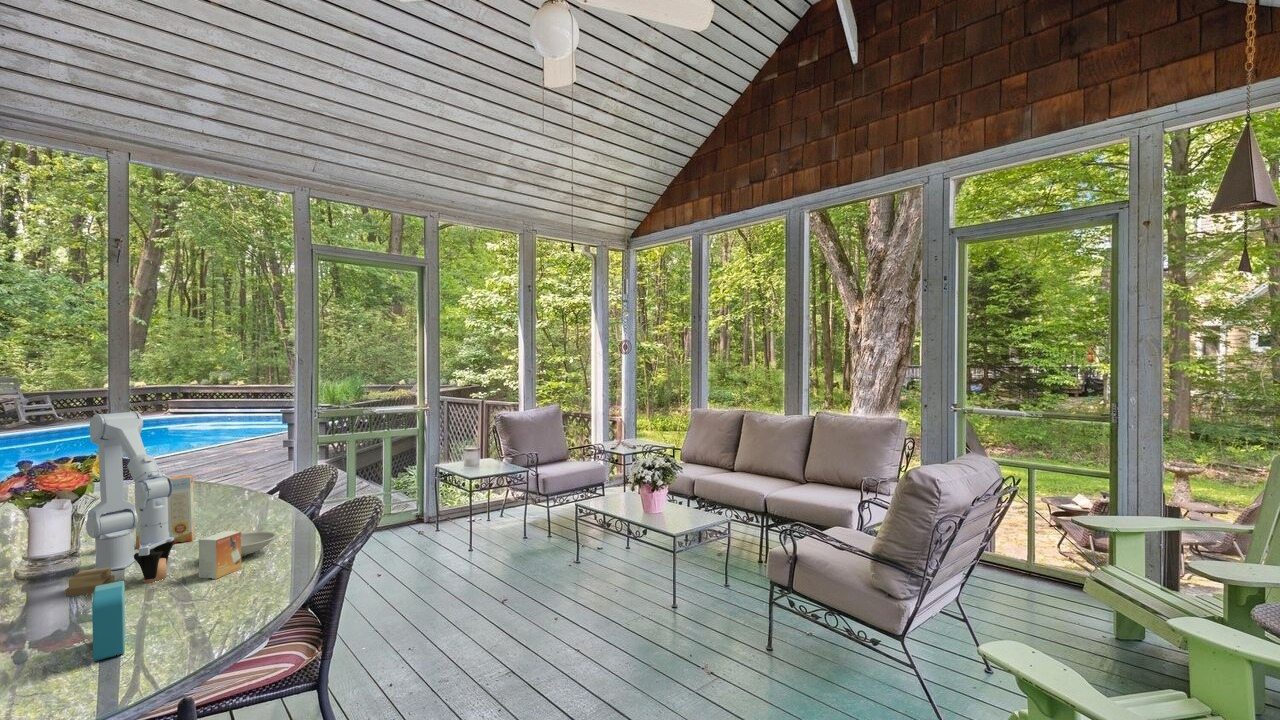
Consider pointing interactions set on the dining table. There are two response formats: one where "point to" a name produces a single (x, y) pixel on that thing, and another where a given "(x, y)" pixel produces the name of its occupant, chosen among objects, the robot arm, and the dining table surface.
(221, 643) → the dining table surface
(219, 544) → the small box
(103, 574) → the oak top block
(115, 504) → the robot arm
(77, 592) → the tan square slab
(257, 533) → the dish
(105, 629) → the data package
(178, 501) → the cracker box
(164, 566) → the terracotta cylinder
